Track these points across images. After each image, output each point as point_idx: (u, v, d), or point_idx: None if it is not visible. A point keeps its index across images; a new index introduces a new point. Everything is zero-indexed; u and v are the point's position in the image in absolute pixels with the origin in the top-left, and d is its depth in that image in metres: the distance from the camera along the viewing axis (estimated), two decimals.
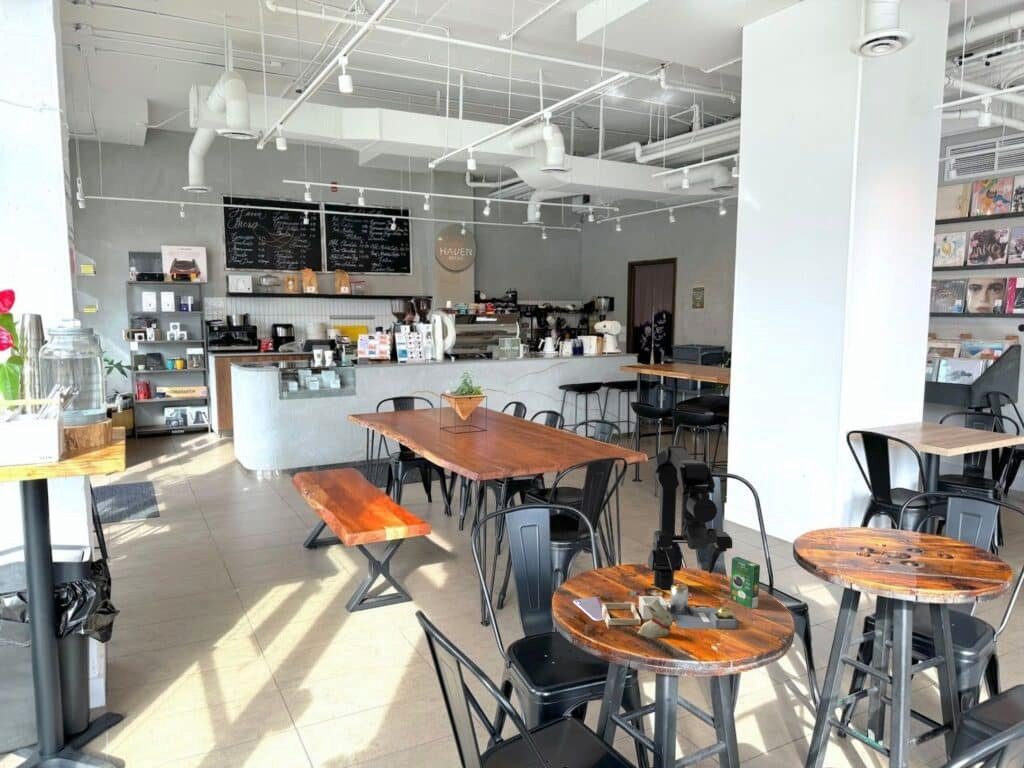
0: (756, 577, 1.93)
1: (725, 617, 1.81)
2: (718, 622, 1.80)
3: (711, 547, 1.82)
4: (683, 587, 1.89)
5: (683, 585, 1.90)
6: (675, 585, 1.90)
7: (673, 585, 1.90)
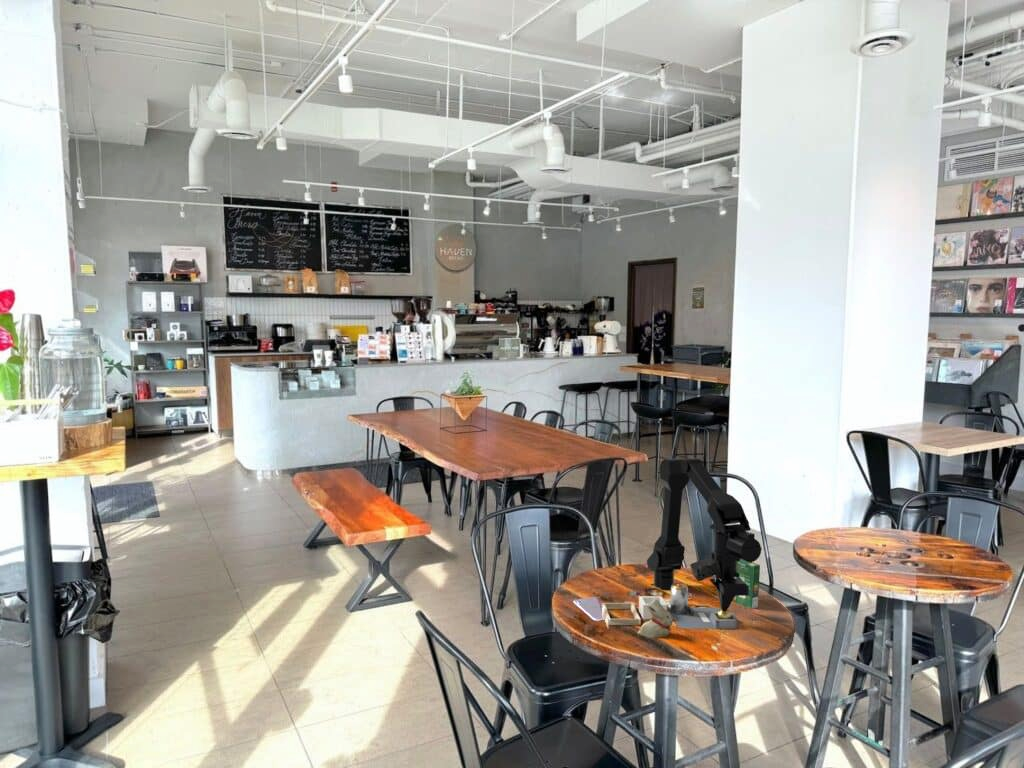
0: (756, 577, 1.93)
1: None
2: (718, 622, 1.80)
3: None
4: (683, 587, 1.89)
5: (683, 585, 1.90)
6: (675, 585, 1.90)
7: (673, 585, 1.90)
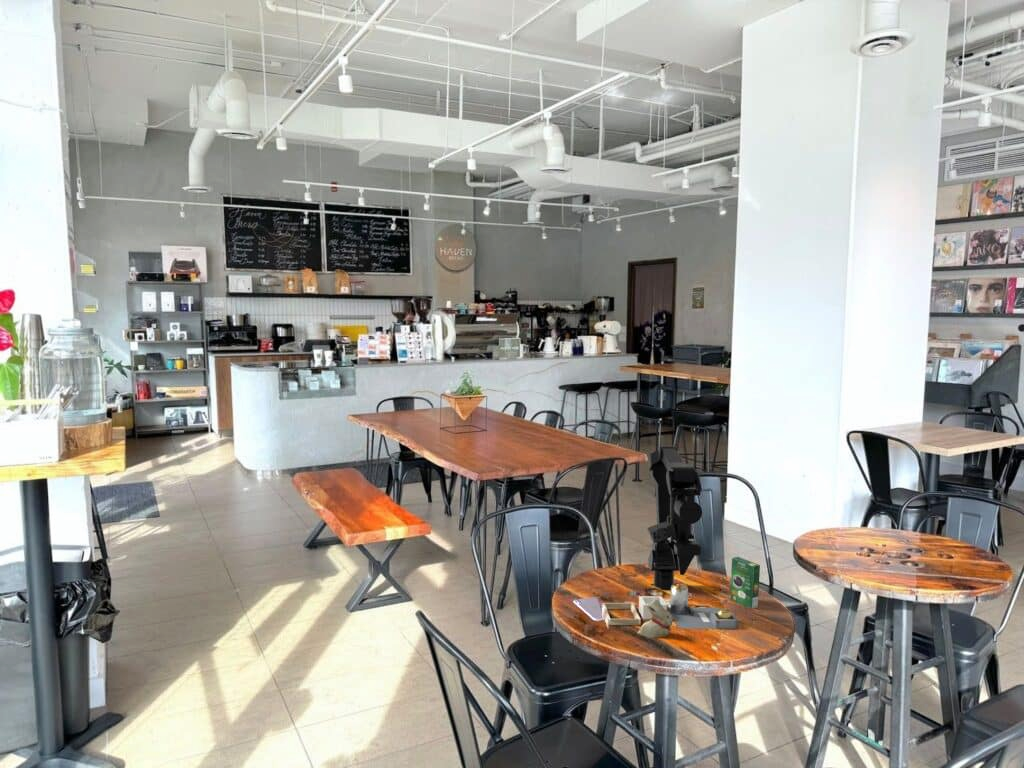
0: (756, 577, 1.93)
1: None
2: (718, 622, 1.80)
3: None
4: (683, 587, 1.89)
5: (683, 585, 1.90)
6: (675, 585, 1.90)
7: (673, 585, 1.90)
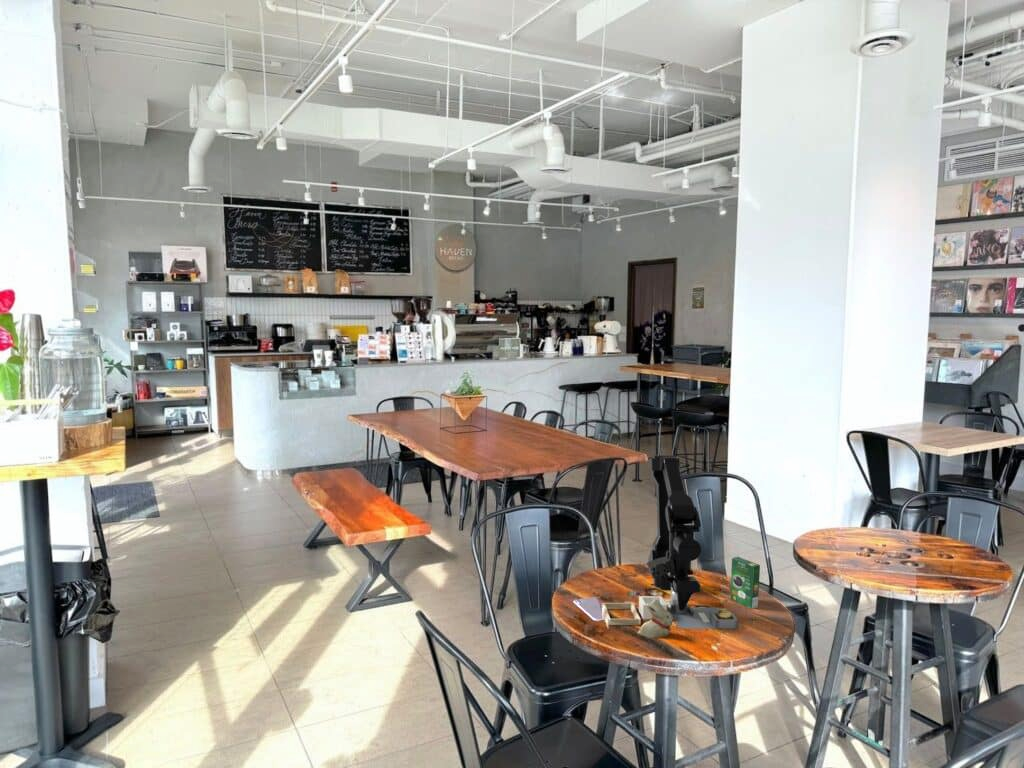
0: (756, 577, 1.93)
1: None
2: (718, 622, 1.80)
3: None
4: None
5: None
6: None
7: None
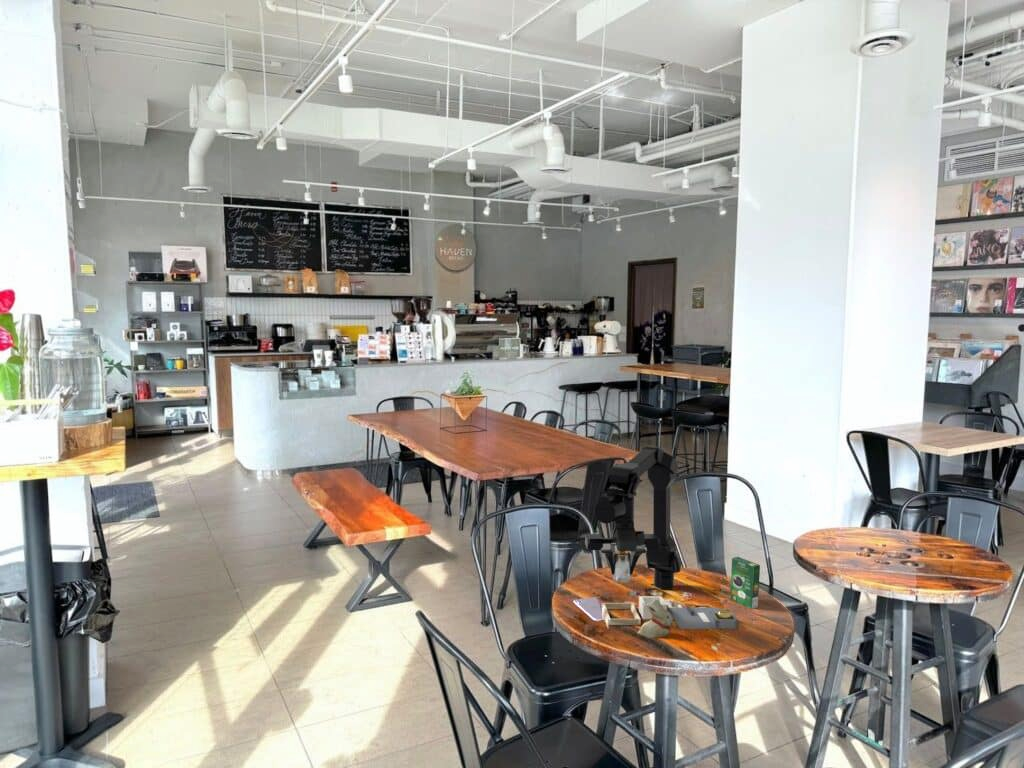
0: (757, 577, 1.93)
1: None
2: (718, 622, 1.80)
3: None
4: (626, 552, 1.87)
5: None
6: (621, 554, 1.85)
7: (621, 554, 1.85)
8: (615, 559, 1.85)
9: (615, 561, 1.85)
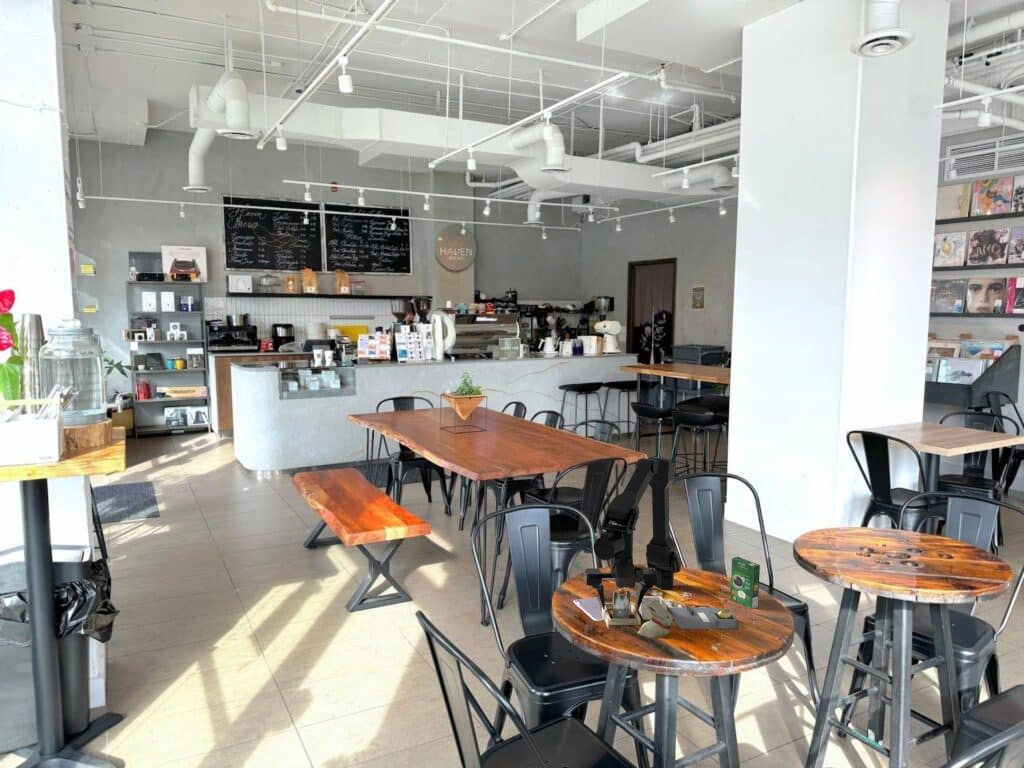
0: (757, 577, 1.93)
1: None
2: (718, 622, 1.80)
3: (639, 584, 1.88)
4: (625, 590, 1.88)
5: None
6: (621, 592, 1.86)
7: (621, 593, 1.85)
8: (614, 598, 1.86)
9: (614, 600, 1.86)
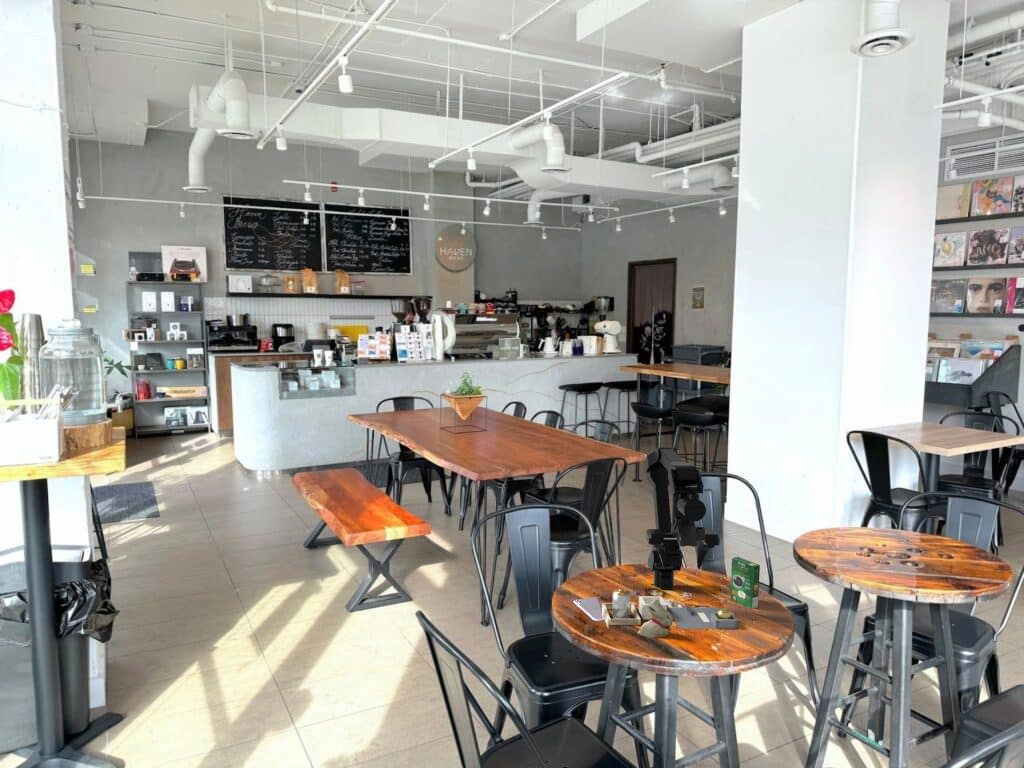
0: (756, 577, 1.93)
1: None
2: (718, 622, 1.80)
3: (700, 544, 1.93)
4: (625, 590, 1.88)
5: (619, 589, 1.88)
6: (620, 592, 1.86)
7: (620, 593, 1.85)
8: (614, 598, 1.86)
9: (614, 600, 1.86)
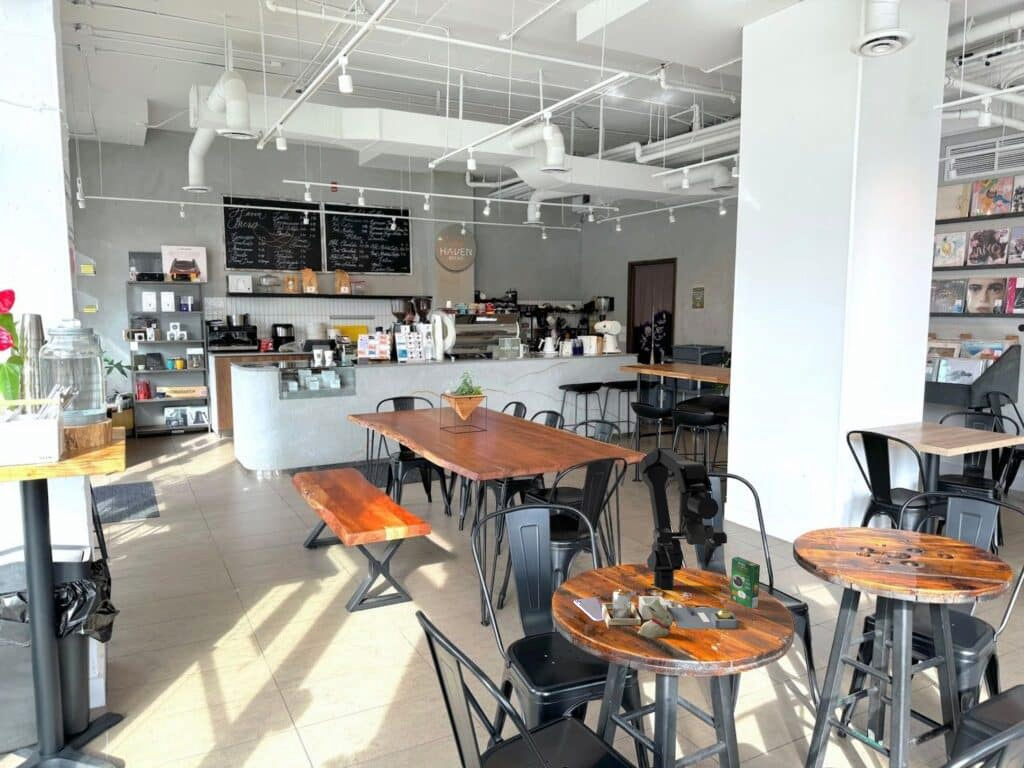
0: (756, 577, 1.93)
1: None
2: (718, 622, 1.80)
3: (707, 542, 1.94)
4: (625, 590, 1.88)
5: (619, 589, 1.88)
6: (620, 592, 1.86)
7: (620, 593, 1.85)
8: (614, 597, 1.86)
9: (614, 599, 1.86)
